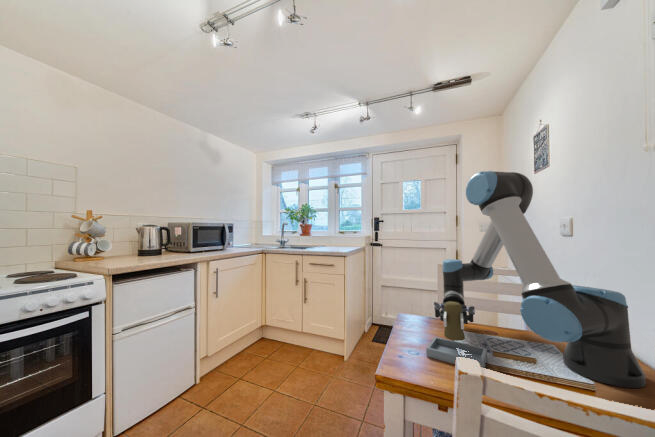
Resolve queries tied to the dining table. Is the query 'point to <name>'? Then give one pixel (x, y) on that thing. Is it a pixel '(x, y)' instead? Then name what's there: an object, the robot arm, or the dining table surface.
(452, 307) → the cork
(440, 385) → the dining table surface
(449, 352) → the trough
